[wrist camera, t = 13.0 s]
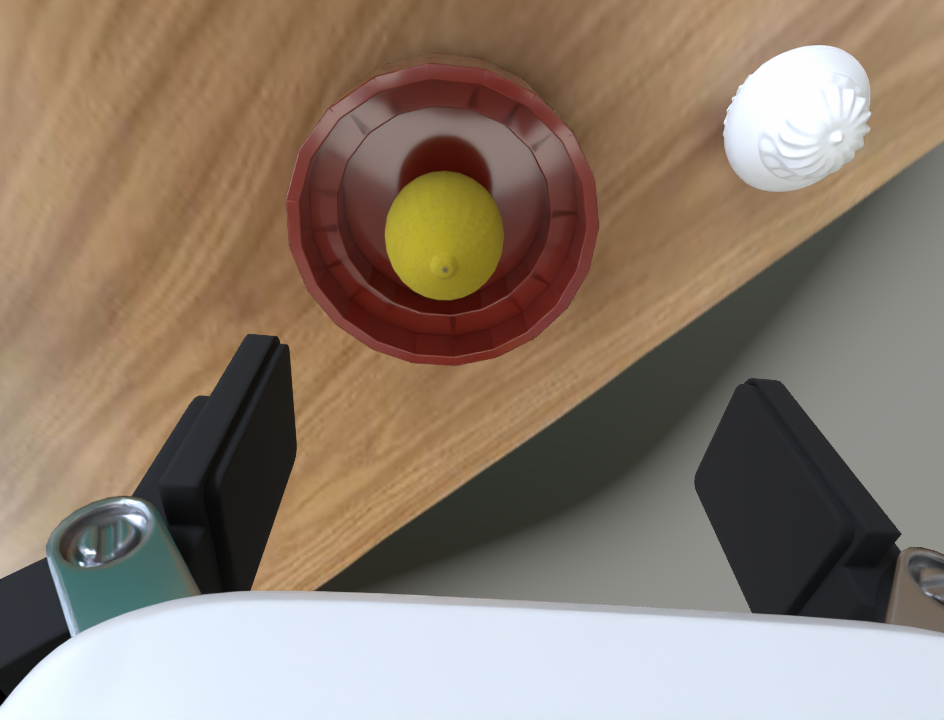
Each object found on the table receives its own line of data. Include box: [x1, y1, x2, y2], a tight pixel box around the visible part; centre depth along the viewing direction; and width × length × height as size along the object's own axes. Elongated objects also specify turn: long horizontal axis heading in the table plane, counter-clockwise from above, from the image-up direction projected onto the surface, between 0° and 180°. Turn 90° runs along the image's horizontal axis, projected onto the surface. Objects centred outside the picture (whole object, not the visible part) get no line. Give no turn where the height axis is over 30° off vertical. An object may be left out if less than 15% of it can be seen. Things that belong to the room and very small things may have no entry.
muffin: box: [723, 45, 871, 192], centre depth 25 cm, size 6×6×7 cm
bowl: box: [286, 53, 599, 366], centre depth 28 cm, size 14×14×5 cm
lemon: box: [385, 171, 504, 300], centre depth 26 cm, size 6×6×8 cm
